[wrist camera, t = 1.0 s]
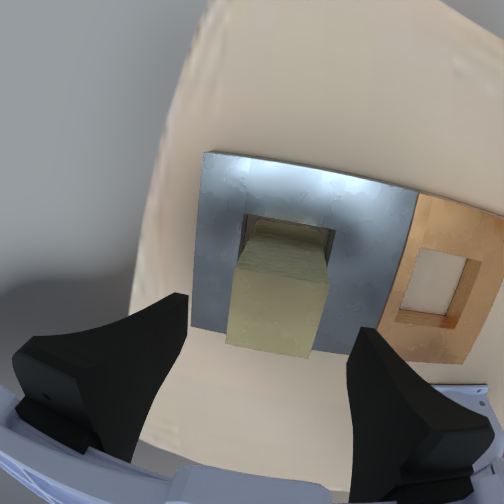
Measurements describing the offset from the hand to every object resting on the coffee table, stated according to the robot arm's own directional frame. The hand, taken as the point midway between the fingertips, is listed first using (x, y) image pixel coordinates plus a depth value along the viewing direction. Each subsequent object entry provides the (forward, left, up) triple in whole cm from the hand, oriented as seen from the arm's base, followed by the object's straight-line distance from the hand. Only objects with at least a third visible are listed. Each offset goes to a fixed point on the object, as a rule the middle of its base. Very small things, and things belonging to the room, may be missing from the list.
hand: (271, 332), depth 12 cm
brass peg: (0, 0, -9) cm, 9 cm away
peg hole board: (-6, 0, -9) cm, 11 cm away
